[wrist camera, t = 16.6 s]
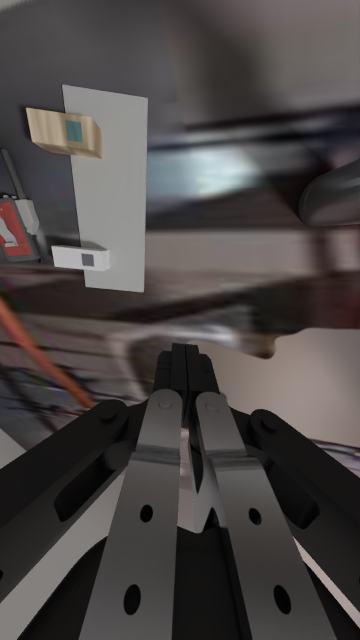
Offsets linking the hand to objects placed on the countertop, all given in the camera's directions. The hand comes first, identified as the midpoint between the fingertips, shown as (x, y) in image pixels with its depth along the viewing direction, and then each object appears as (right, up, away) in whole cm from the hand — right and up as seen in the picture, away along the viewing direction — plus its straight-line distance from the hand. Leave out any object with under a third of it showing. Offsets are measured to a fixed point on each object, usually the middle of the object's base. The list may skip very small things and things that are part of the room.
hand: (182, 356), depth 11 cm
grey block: (-16, +15, +29) cm, 36 cm away
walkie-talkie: (-34, +24, +27) cm, 50 cm away
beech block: (-14, +33, +20) cm, 42 cm away
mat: (-14, +25, +27) cm, 39 cm away
